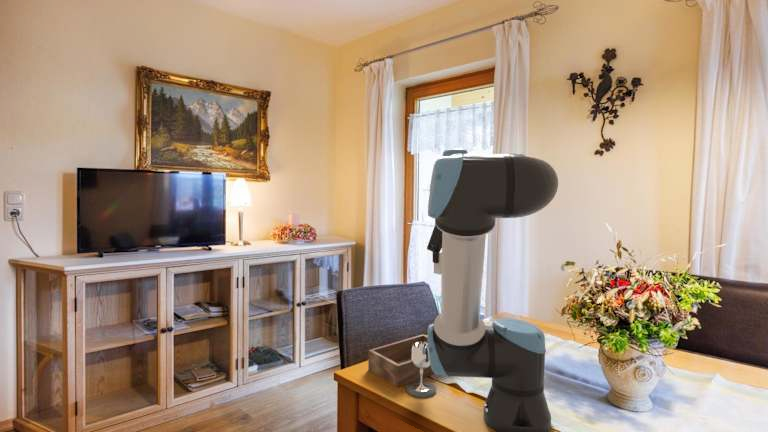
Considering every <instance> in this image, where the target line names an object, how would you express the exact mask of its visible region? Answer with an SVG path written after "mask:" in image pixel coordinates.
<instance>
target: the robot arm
mask: <svg viewBox="0 0 768 432" xmlns="http://www.w3.org/2000/svg"><path fill="white" fill-rule="evenodd" d="M558 187H559V179H558V174H557V172H556V170H555V169H554V168H553V166H552V165H550V163H548V162H547V161H545V160H542V159H539V158H536V157H531V156H526V155H525V154H523V153H522V154H521V153H495V154H494V153H490V154H487V153H480V154H479V153H478V154H477V153H475V154H474V153H469V152H468V150H467V149H463V148H462V149H461V148H450V149H444V150H443V152H442V157H439V158H438V159H436V161H435V162H434V165H433V167H432V172H431V179H430V187H429V196H428V204H427V215H428V217H429V218H432V219H434V226H433V227H434V228H433V230H432V232H431V235H430V238H429V241H428V242H427V243H428V244H427V247H426V249H427V250H428V251H430V252H431V253H432V264H433V274H436V275H439V276H441V282H440V285H441V286H440V288H441V290H440V313H439V314H438V315H437V316H436V317H435V319H434V322H433V323H430V324H429V325H428V326H427V336H428V349H429V360H430V365H431V369H432V371H433V372H434V373H435V374H434V375H437V376H444V377H445V376H446V377H448V378H452V377H456V378H482V379H491V386H490V388H489V391H488V394H487V396H486V399H485V403H484V405H483V419H484V422H485V423H486V424H487V425H488V427H489V428H491V429H492V430H494V431H496V432H550V430H551V427H552V415H551V412H550V409H549V405H548V401H547V399H546V395H545V388H544V387H545V366H546V365H545V362H546V352H547V349H546V339H545V337H546V336H545V333H544V332H543V331H542V329H540V328H539V327H538V326H536V325H535V324H532V323H530V322H528V321H525V320H521V319H517V318H512V317H511V318H509V317H500V318H499V317H498V318H495V319H494V320H493V321H492V323H491V324H492V325H485V324H486V323H485V322H484V320H483V319H482V318H481V317H480V314H481V302H482V290H483V289H482V287H483V277H484V276H483V275H484V263H485V262H484V261H485V251H486V250H485V249H486V238H487V237H486V236H487V234H489V233H491V232H492V231H493V230H494V228H495V227H496V219H513V218H514V219H515V218H523V217H527V216H530V215H533V214H536V213H538V212H540V211H542V210H543V209H544V208H545V207H547V206H549V205H550V203H551V201H553V200H554V198H555V197H556V194H557V192H558V189H559V188H558Z"/></svg>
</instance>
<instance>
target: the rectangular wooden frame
mask: <svg viewBox="0 0 768 432" xmlns="http://www.w3.org/2000/svg"><path fill="white" fill-rule="evenodd" d="M415 342H427V343H428V335H426V334H424V333H422V334H419V335H416V336H413V337H409V338H404V339H402V340H399V341H395V342H392V343H389V344H385V345H381V346H378V347H375V348H371V349H369V350H368V349H367V350H368V353H367V355H368V365H367V366H368V371H370V372H372V373H373V374H375V375H376V376H378V377H380V378H382V379H383V380H384V381H387V382H388V383H390V384H391V385H393V386H395V387H397V388H400V387H403V386H407V385H408V384H410V383H412V382H416V381H420V369H419V368H417V367H415V366H414V365H413V364H412V362H411V350H412V346H413V343H415ZM408 359H409V360H408ZM405 360H407V361H405ZM401 361H403V362H401ZM398 362H401V363H398ZM432 375H436V374H435V373H434V372H433V371H432V369H431V365H430V366H429V367H427V368H424V369H423V375H422V379H424V378H427V377H429V376H432Z"/></svg>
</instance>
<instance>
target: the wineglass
mask: <svg viewBox="0 0 768 432" xmlns="http://www.w3.org/2000/svg"><path fill="white" fill-rule="evenodd" d="M410 360H411V362H412V364H413V365H414V366H415V367H417V368H419V369H420V379H419V381H420V384H416V385H414V386H413V389H414V390H415V391H417V392H426V391H428V390H429V386H427V385H425V384H422V381H423V378H422V375H423V369H424V368H427V367H429V366H430V360H429V349H428V343H427V342H415V343H413V346H412V350H411V358H410Z"/></svg>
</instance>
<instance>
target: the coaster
mask: <svg viewBox="0 0 768 432" xmlns="http://www.w3.org/2000/svg"><path fill="white" fill-rule="evenodd" d="M416 384H420V380H417V381H414V382H411V383H409V384H406V389H405V391H406V393H407V394H409V396H412V397H416V398H430V397H432V396H435V395H436V392H437V386H436V385H434V384H433V383H431V382H428V381H425V380H424V381H423V380H422V384H425V385H427V386H429V390H428V391H426V392H417V391H415V390H414V389H413V386H414V385H416Z"/></svg>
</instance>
